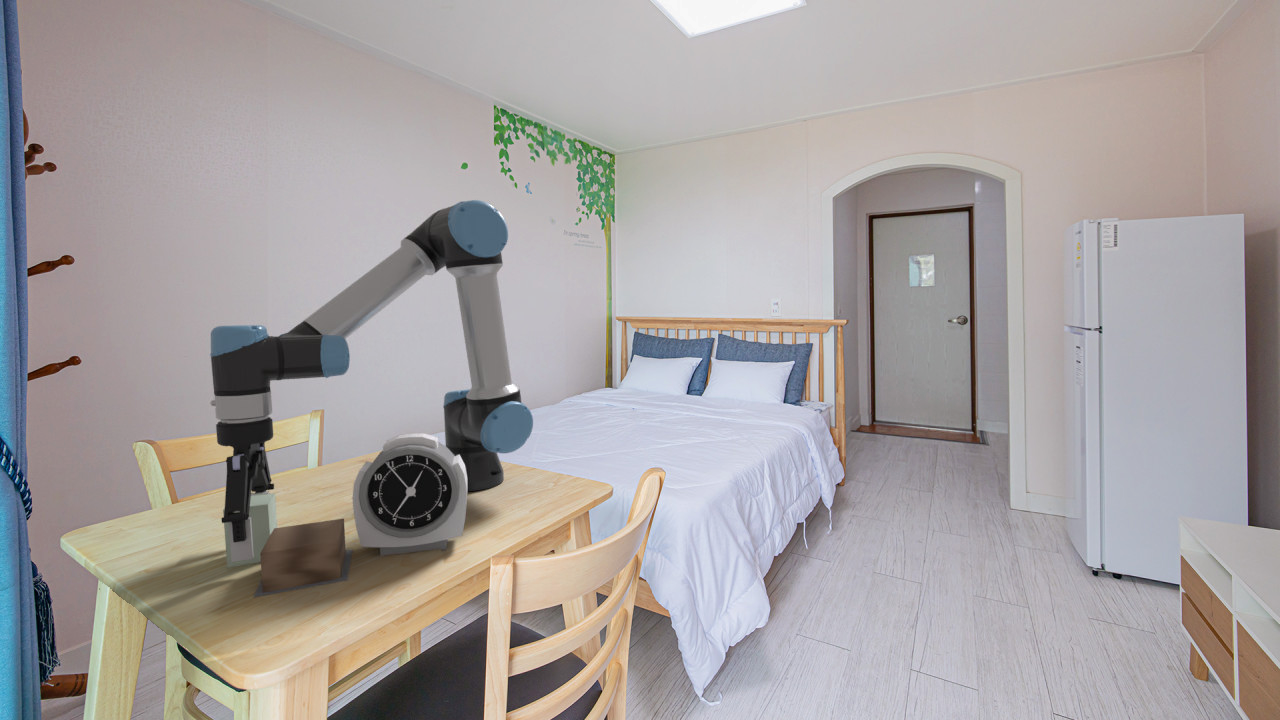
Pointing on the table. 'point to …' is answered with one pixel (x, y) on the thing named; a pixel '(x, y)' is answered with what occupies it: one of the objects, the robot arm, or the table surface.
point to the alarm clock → (410, 496)
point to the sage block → (256, 527)
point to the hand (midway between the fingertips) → (253, 542)
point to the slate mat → (343, 578)
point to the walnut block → (303, 555)
